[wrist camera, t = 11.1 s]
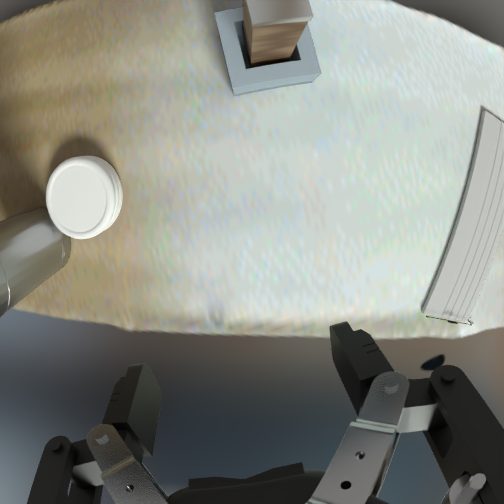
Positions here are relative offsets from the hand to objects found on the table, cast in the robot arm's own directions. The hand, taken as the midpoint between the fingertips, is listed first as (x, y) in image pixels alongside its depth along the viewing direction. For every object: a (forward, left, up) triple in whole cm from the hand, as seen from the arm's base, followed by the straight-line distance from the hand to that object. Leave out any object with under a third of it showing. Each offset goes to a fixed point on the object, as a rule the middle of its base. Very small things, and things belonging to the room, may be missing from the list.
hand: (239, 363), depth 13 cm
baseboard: (+33, +11, -27) cm, 44 cm away
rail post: (-4, +20, -25) cm, 32 cm away
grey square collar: (-4, +20, -26) cm, 33 cm away
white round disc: (-20, -2, -27) cm, 33 cm away
